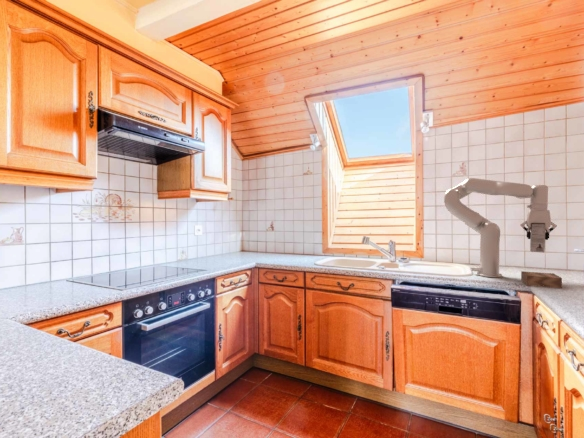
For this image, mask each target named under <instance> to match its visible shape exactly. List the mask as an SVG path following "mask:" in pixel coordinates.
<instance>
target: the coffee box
mask: <svg viewBox="0 0 584 438" xmlns="http://www.w3.org/2000/svg"><path fill="white" fill-rule="evenodd" d="M545 229H546V223H531V230H530V232H531V239H529V240H530V241H529V250H530V251H529V252H531V253H545V250H546V248H545V247H546V240H545V232H546V230H545Z"/></svg>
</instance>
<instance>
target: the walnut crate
mask: <svg viewBox="0 0 584 438" xmlns="http://www.w3.org/2000/svg"><path fill="white" fill-rule="evenodd" d="M520 277H521V279H520V281H521V282H522V281H523V282H522V283H523V284H525V285H526V286H530V287H533V286H534V287H543V288H553V289H556V288H557V289H562V286H563V278H562V277H561V276H559V275H557V274H555V273H550V272H535V271H522V270H521V272H520Z"/></svg>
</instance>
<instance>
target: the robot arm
mask: <svg viewBox="0 0 584 438" xmlns="http://www.w3.org/2000/svg"><path fill="white" fill-rule="evenodd" d="M472 193H476V194H480V195H481V194H482V195H489V196H508V197H515V198H517V199H522V200H523V199H530V204H528V205H527V206H526V208H528V211H527V215H526V220H525V221H523V222H522V223H520V227H522V229H523V231H525V232H526V238H527V240H530V239H531V223H546V229H545V241H548V240H549V239H550V233H551V232H552V231H553V230H554V229H556V228H557V224H555V223H554V222H552V219H551V212H550V210H549V209H548V205H549V204H548V203H549V202H548V199H549V198H548V197H549V187H548V185H547V184H544V185H543V184H542V185H541V184H538V185H537V184H535V185H532V186H531V185H529V184H526V183H525V184H524V183H519V182H510V181H509V182H508V181H501V180H493V179H484V178H483V179H482V178H475V177H469V178H466V179H465V180H464V181H463V182H461V183H459V184H458V185H456V186H454V187H453V188H449V189H447V190H446V191H445V194H444V197H443V199H444V202H443V203H444V206H445V208H446V210H447V211H448V212H449V213H450V214H452V215H453V216H454V217H456V218H457V219H458V220H460V221H462V222H463V223H464V224H465V225H466V226H467V227H469V228H471V230H474V231H475V232H477V233H478V234H479V235H480V244H479V245H480V247H479V249H480V252H479V253H480V259H479V260H480V261H479V263H480V264H479V266H478V267H470V268H471V269H470V271H473V272H476V275H478V276H480V277H486V278H502V277H503V274H502V273H500V238H501V229H500V227H499V225H498V224H497V223H495V222H493V221H490V220H489V219H487V218H485V217H484V216H482V215H481V214H480V213H479V212H477V211H474V210H472V208H470V207H468V206H467V205H465V204H464V203H462V202H461V199H463V198H465V197H467V196H469V195H471V194H472ZM525 225H526V226H525Z"/></svg>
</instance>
